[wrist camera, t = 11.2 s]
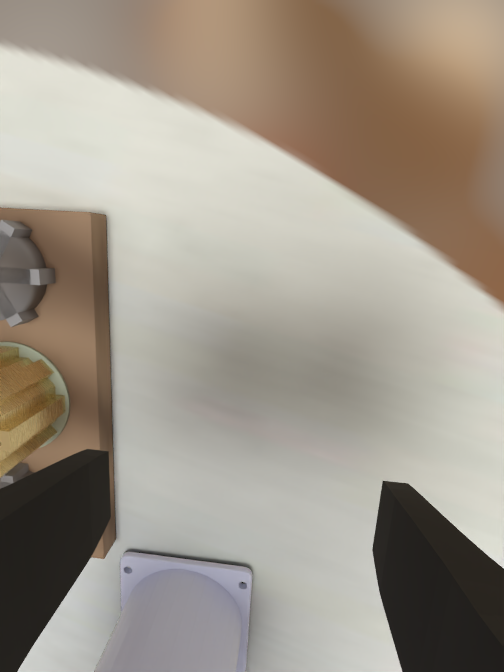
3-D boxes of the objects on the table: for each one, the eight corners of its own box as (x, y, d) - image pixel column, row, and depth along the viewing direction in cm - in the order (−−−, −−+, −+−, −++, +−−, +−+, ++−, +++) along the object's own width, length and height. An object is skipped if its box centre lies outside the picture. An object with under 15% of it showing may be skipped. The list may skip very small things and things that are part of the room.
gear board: (115, 539, 23) (67, 619, 18) (-22, 521, 24) (-104, 594, 19) (106, 215, 19) (38, 203, 14) (-61, 206, 20) (-182, 192, 15)
